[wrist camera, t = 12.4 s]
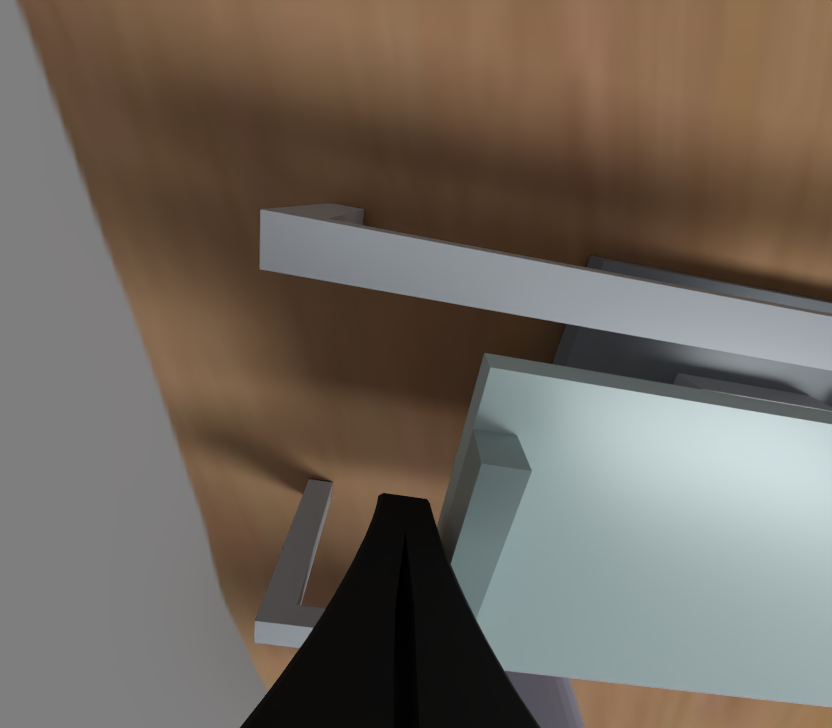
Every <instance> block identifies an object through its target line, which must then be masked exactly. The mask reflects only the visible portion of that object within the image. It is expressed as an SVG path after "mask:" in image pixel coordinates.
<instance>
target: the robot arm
mask: <svg viewBox="0 0 832 728" xmlns="http://www.w3.org/2000/svg"><path fill="white" fill-rule="evenodd" d="M240 728H585V726H584V722H583V719H582V716H581V713H580V710H579V706H578V703H577V700H576V697H575V694H574V691H573V687H572V684H571V681H570V678H565V677H556V676H547V675H538V674H529V673H520V672H511V671H504V669H503V668H502V666H501V664H500V662H499V661H498V659H497V657H496V655H495V654H494V652H493V650H492V648H491V647H490V645H489V643H488V641H487V639H486V637H485V636H484V634H483V632H482V630H481V628H480V626H479V624H478V622H477V620H476V618H475V616H474V614H473V612H472V610H471V608H470V606H469V604H468V602H467V600H466V598H465V596H464V594H463V591H462V589H461V587H460V585H459V583H458V580H457V578H456V576H455V573H454V571H453V568H452V566H451V564H450V561H449V559H448V557H447V554H446V551H445V549H444V546H443V544H442V541H441V538H440V535H439V532H438V530H437V527H436V524H435V520H434V517H433V514H432V510H431V506H430V503H429V502H428V500H427V499H422V498H415V497H408V496H401V495H393V494H386V493H383V494H381V495H379V496H378V501H377V506H376V509H375V512H374V515H373V518H372V521H371V523H370V526H369V528H368V531H367V533H366V535H365V538H364V540H363V542H362V544H361V546H360V548H359V550H358V552H357V554H356V556H355V558H354V560H353V562H352V564H351V566H350V568H349V570H348V571H347V573H346V575H345V577H344V579H343V580H342V582H341V584H340V586H339V587H338V589H337V591H336V593H335V594H334V596H333V598H332V600H331V601H330V603H329V604H328V606H327V608H326V609H325V611H324V612H323V614H322V616H321V617H320V619H319V620H318V622H317V623H316V625H315V626H314V628H313V629H312V631H311V632H310V634H309V636H308V637H307V639H306V640H305V641H304V643H303V644H302V646H301V647H300V649H299V650H298V651H297V653H296V654H295V656H294V657H293V658H292V660H291V661H290V663H289V664H288V666H287V667H286V668H285V670H284V671H283V673H282V674H281V675H280V677H279V678H278V679H277V681H276V682H275V683H274V685H273V686H272V687H271V689H270V690H269V691H268V693H267V694H266V695H265V697H264V698H263V699H262V701H261V702H260V703H259V704H258V706H257V707H256V708H255V709H254V711H253V712H252V713H251V714H250V716H249V717H248V718H247V720H246V721H245V722H244V723H243V725H242V726H241V727H240Z"/></svg>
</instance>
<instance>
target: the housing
mask: <svg viewBox="0 0 832 728" xmlns="http://www.w3.org/2000/svg"><path fill="white" fill-rule="evenodd" d="M363 217H364V209H361V208H356V207H350V206H345V205H340V204H335V203H326V204H314V205H303V206H292V207H280V208H269V209H260V269H261V270H267V271H272V272H278V273H284V274H289V275H295V276H301V277H306V278H312V279H317V280H323V281H329V282H334V283H340V284H346V285H351V286H357V287H363V288H368V289H374V290H379V291H385V292H391V293H396V294H402V295H408V296H413V297H419V298H424V299H430V300H436V301H441V302H447V303H453V304H458V305H464V306H470V307H475V308H481V309H486V310H492V311H498V312H503V313H509V314H515V315H520V316H526V317H532V318H537V319H543V320H548V321H554V322H560V323H565V324H566V326H565V329H564V332H563V334H562V337H561V340H560V343H559V346H558V349H557V351H556V354H555V357H554V360H553V363H552V364H554V365H560V366H566V367H572V368H578V369H583V370H589V371H595V372H601V373H607V374H613V375H619V376H625V377H631V378H637V379H642V380H648V381H654V382H660V383H666V384H672V385H678V386H684V387H690V388H695V389H701V390H707V391H713V392H719V393H725V394H731V395H737V396H743V397H749V398H754V399H760V400H766V401H772V402H778V403H784V404H790V405H796V406H802V407H808V408H813V409H819V410H825V411H831V412H832V301H827V300H822V299H817V298H811V297H806V296H801V295H796V294H790V293H785V292H780V291H775V290H769V289H764V288H759V287H754V286H749V285H743V284H738V283H733V282H728V281H722V280H717V279H712V278H707V277H701V276H696V275H691V274H686V273H680V272H675V271H670V270H665V269H660V268H654V267H649V266H644V265H639V264H633V263H628V262H623V261H618V260H612V259H607V258H602V257H597V256H592V255H590V258H589V261H588V264H587V267H582V266H576V265H571V264H566V263H560V262H555V261H550V260H545V259H539V258H534V257H529V256H523V255H518V254H513V253H507V252H502V251H497V250H492V249H486V248H481V247H476V246H470V245H465V244H460V243H454V242H449V241H444V240H439V239H433V238H428V237H423V236H417V235H412V234H407V233H401V232H396V231H391V230H386V229H380V228H375V227H370V226H364V225H363ZM332 485H333V482H326V481H318V480H311V479H309V480H308V483H307V486H306V488H305V491H304V493H303V496H302V499H301V501H300V504H299V507H298V509H297V512H296V514H295V517H294V520H293V522H292V525H291V527H290V530H289V533H288V535H287V538H286V541H285V543H284V546H283V548H282V551H281V554H280V556H279V559H278V562H277V564H276V567H275V569H274V572H273V575H272V577H271V580H270V582H269V585H268V588H267V590H266V593H265V596H264V598H263V601H262V603H261V606H260V609H259V611H258V614H257V616H256V619H255V639H254V643H260V644H269V645H278V646H287V647H296V648H300V647H301V646H302V644H303V643H304V641H305V640H306V639H307V637H308V636H309V634H310V632H311V631H312V629H313V628H314V626H315V625H316V623H317V622H318V620H319V619H320V617H321V616H322V614H323V612H324V611H325V609H326V608H319V607H311V606H302V605H301V603H302V600H303V596H304V593H305V589H306V586H307V582H308V579H309V575H310V572H311V568H312V565H313V561H314V558H315V554H316V551H317V547H318V544H319V540H320V537H321V533H322V530H323V526H324V523H325V519H326V516H327V512H328V508H329V505H330V501H331V494H332ZM504 671H511V672H520V673H529V674H538V675H547V676H556V677H565V678H574V679H583V680H592V681H601V682H609V683H618V684H627V685H636V686H645V687H654V688H663V689H672V690H681V691H690V692H699V693H708V694H717V695H726V696H735V697H744V698H753V699H762V700H771V701H780V702H789V703H798V704H807V705H816V706H824V707H832V706H831V705H822V704H813V703H804V702H795V701H786V700H777V699H768V698H759V697H751V696H742V695H733V694H724V693H715V692H706V691H697V690H688V689H679V688H670V687H661V686H652V685H643V684H634V683H626V682H617V681H608V680H599V679H590V678H581V677H572V676H563V675H554V674H545V673H536V672H527V671H518V670H509V669H504Z"/></svg>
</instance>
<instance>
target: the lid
mask: <svg viewBox="0 0 832 728" xmlns="http://www.w3.org/2000/svg"><path fill="white" fill-rule="evenodd" d="M437 530H438V532H439V535H440V538H441V541H442V544H443V546H444V549H445V551H446V554H447V557H448V559H449V561H450V564H451V566H452V568H453V571H454V573H455V576H456V578H457V580H458V583H459V585H460V587H461V589H462V591H463V594H464V596H465V598H466V600H467V602H468V604H469V606H470V608H471V610H472V612H473V614H474V616H475V618H476V620H477V622H478V624H479V626H480V628H481V630H482V632H483V634H484V636H485V637H486V639H487V641H488V643H489V645H490V647H491V648H492V650H493V652H494V654H495V655H496V657H497V659H498V661H499V662H500V664H501V666H502V668H503V669H509V670H518V671H527V672H536V673H545V674H554V675H563V676H572V677H581V678H590V679H599V680H608V681H617V682H626V683H634V684H643V685H652V686H661V687H670V688H679V689H688V690H697V691H706V692H715V693H724V694H733V695H742V696H751V697H759V698H768V699H777V700H786V701H795V702H804V703H813V704H822V705H831V706H832V412H831V411H825V410H819V409H813V408H808V407H802V406H796V405H790V404H784V403H778V402H772V401H766V400H760V399H754V398H749V397H743V396H737V395H731V394H725V393H719V392H713V391H707V390H701V389H695V388H690V387H684V386H678V385H672V384H666V383H660V382H654V381H648V380H642V379H637V378H631V377H625V376H619V375H613V374H607V373H601V372H595V371H589V370H583V369H578V368H572V367H566V366H560V365H554V364H548V363H542V362H536V361H530V360H524V359H519V358H513V357H507V356H501V355H495V354H489V353H484V356H483V359H482V363H481V367H480V370H479V374H478V378H477V381H476V385H475V389H474V392H473V396H472V400H471V403H470V407H469V411H468V414H467V418H466V422H465V426H464V429H463V433H462V437H461V440H460V444H459V448H458V451H457V455H456V459H455V462H454V466H453V470H452V473H451V477H450V481H449V485H448V488H447V492H446V496H445V499H444V503H443V507H442V510H441V514H440V518H439V521H438V525H437Z"/></svg>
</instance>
